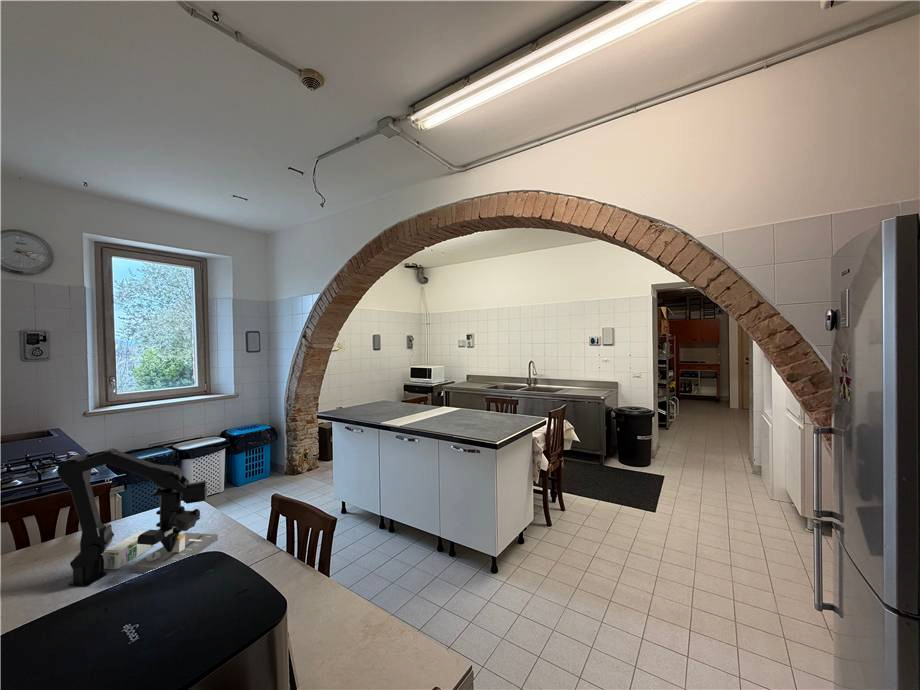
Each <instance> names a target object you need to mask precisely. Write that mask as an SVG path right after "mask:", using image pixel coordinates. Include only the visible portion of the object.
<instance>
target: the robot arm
mask: <svg viewBox="0 0 920 690" xmlns="http://www.w3.org/2000/svg"><path fill="white" fill-rule="evenodd" d="M103 465H104V466H105V465H110V466H113V467H116V468H119V469H122V470H123V471H124V470H125V471H127V472H130V473H133V474H136V475H138V476H142V477H145V478H146V479H148V480H150V481H151V482H152V483H153V484H155V485H156V486H158V488H157V489H156V490H154V491H153V493H152V495H151V496H152V497H158V496H159V509H158V510H157V511H156V514H155V515H159V522H157V523H156V524H155V525H156V526H155V527H156V528H158V529H148V530H145V531H146V532H144V533H142V534H140V535H139V536H138V544H145V545H154V546H155V545H157V544H158V543H161V544H162V547H163V546H164V547H165V549H166V550H167V552H171V551H172V550H173V548H174V545H175V542H176V540H177V537H178V535H179V534H180V533H181V532H188V531H189V530H190V529H192V528H194V527H195V526H196V524H197V522H198V521H199V520H200V519H201V510H200V509H199V508H195V509H194V510H186V509H185V506H183V505H182V502H183V503H184V504H185V503H186V505H189V504H195V503H200V502H206V501H207V500H208V487H207V481H206V480H201V481H198V482H190V480H189V479H188V478H186V476H184V474H183V471H182V469H181V468H180V467H178V466H175V465H170V464H169V465H168V464H159V463H153V462H150V461H147V460H145V459H142V458H139V457H137V456H133V455H131V454H128V453H126V452H124V451H120V450H119V449H117V448H108V449H106V450H102V451H101V450H100V451H98V452H92V453H88V454H86V455H85V454H75V455H73V456H70V457H69V458H67V459H65V460H64V461H62V462H61V463H60V464H59V465H58V466H57V469H56V473H57V476H59V478H60V481H61V482H62V483H63V484H64V485H65V486H66V487H68V489H69V491H70V493H71V498H72V501H73V505H74V508H75V511H76V515H77V518H78V522H79V525H80V529H81V534H80V542H79V546H80V547H79V548H80V551H79V552H78V553H77V555H76V556H75V557H74V558H73V559H72V560H71V561H70V563H69V565H70V567H71V569H72V581H70V582H68V583H67V586H74V587H76V586H77V587H88V586H90V585H91V584H93V583H96V581H98V580H100V579H102V578H103V577H105V576H107V575H108V572H106V571H105V569H104V559H103V552H104V551H105V550H107V549H108V547H109V546H110V545H111V543H112V541H113V537H114V536H115V535H116V534H114V532H113V531H112V530H113V528H112V524H111V523H109V524H108V525H105V524H104V523H103V522H102V520H101V517H100V516H101V515H100V513H99V510H98V506H97V502H96V499H95V495H94V492H93V487H92V484H91V475H92V471H93V469H96V468H98V467H102V466H103Z"/></svg>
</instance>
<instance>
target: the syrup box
mask: <svg viewBox="0 0 920 690" xmlns="http://www.w3.org/2000/svg"><path fill="white" fill-rule="evenodd" d="M146 531H147V530H139V531H137V532H135V533H134V534H131V535H130V536H129V537H127V538H125V539H123V540H121V541H120V542H118V543H116V544H114V545H112V546H111V547H109V548H106V550H105V551H104V552H103V554H102V555H103V559H104V570H105V569H106V570H118V569H121V568H122V567H123V566H125V565H127V564H128V563H130V562H131V561H133V560H134V559H136V558H137V557H139V556H140V555H142V554H144V553H146V552H148V550H151V549H152V548H154V547H155V544H154V545H145V544H138V536H139V535H140V534H142V533H144V532H146Z"/></svg>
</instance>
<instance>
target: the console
mask: <svg viewBox="0 0 920 690" xmlns="http://www.w3.org/2000/svg"><path fill="white" fill-rule="evenodd" d="M182 535H186V537H185V549H184V550H182V551H181V552H167V550H166V549H165V547H164V546H163V545H162V547H160V548H159V549H157V550H155V551H153V552H152V553H149V554H148V555H146V557H143V558H142V559H140V560H139V561H137V562H136V563H134V564H132V565H131V567H130V572H131V573H136V572H142V573H141V574H146V573H145V572H148V571H150V570H153V569H156V568H159V567H161V566H164V565H167V564H169V563H172V562H174V561H177V560H180V559H182V558H185V557H187V556H190V555H194V554H197V553H198V554H200V553H201V552H202V551H203V550H205V549H206V548H208V547H210V546H211V545H212V544H214V543H215V542H217V541H218V540H219V539H218V534H217V533H201V532H199V533H197V532H184V533H183V534H182ZM198 554H197V555H198Z"/></svg>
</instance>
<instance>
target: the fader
mask: <svg viewBox="0 0 920 690" xmlns="http://www.w3.org/2000/svg"><path fill="white" fill-rule="evenodd" d="M185 537H186V535H183V534H180V533H179V535H178V537H177V540H176V542H175V545H174V548H173V550H172V551H171V552H181V551H182V550H184V549H185Z"/></svg>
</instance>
